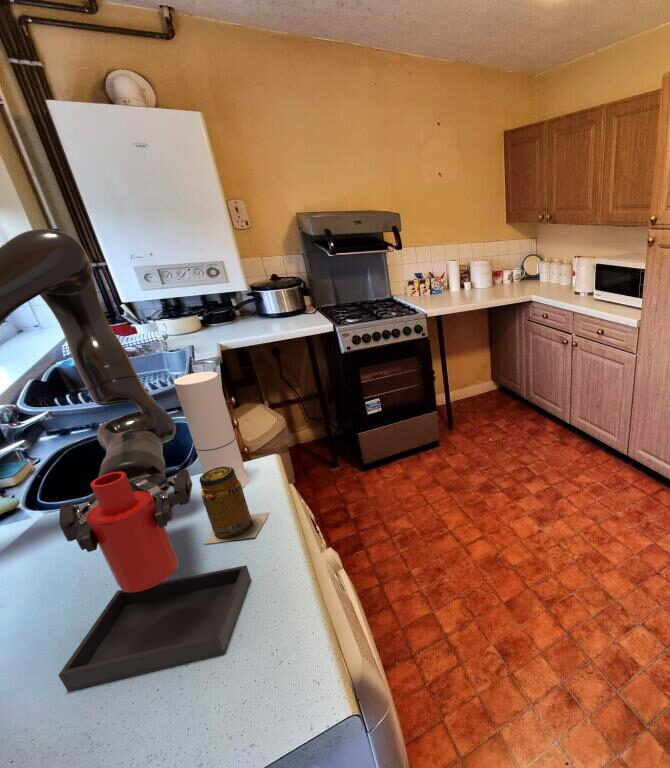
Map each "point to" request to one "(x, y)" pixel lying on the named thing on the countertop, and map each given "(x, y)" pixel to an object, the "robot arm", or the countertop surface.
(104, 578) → the countertop surface
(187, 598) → the baking tray
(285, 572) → the countertop surface
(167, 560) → the bottle
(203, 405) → the cylindrical container
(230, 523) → the condiment
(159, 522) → the robot arm
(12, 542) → the countertop surface
